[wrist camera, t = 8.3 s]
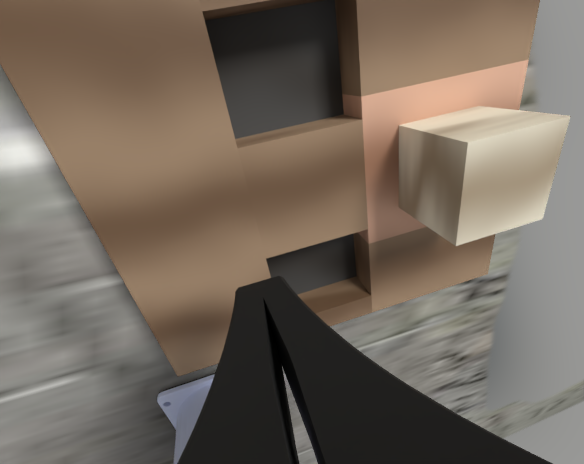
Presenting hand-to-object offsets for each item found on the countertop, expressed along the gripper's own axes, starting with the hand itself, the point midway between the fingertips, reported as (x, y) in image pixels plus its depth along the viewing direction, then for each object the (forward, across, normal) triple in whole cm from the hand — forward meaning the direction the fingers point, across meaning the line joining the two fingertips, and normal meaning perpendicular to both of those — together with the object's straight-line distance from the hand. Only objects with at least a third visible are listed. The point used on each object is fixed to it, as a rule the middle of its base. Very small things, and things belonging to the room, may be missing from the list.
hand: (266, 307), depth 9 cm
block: (+7, -11, 0) cm, 13 cm away
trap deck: (+9, -5, 0) cm, 10 cm away
